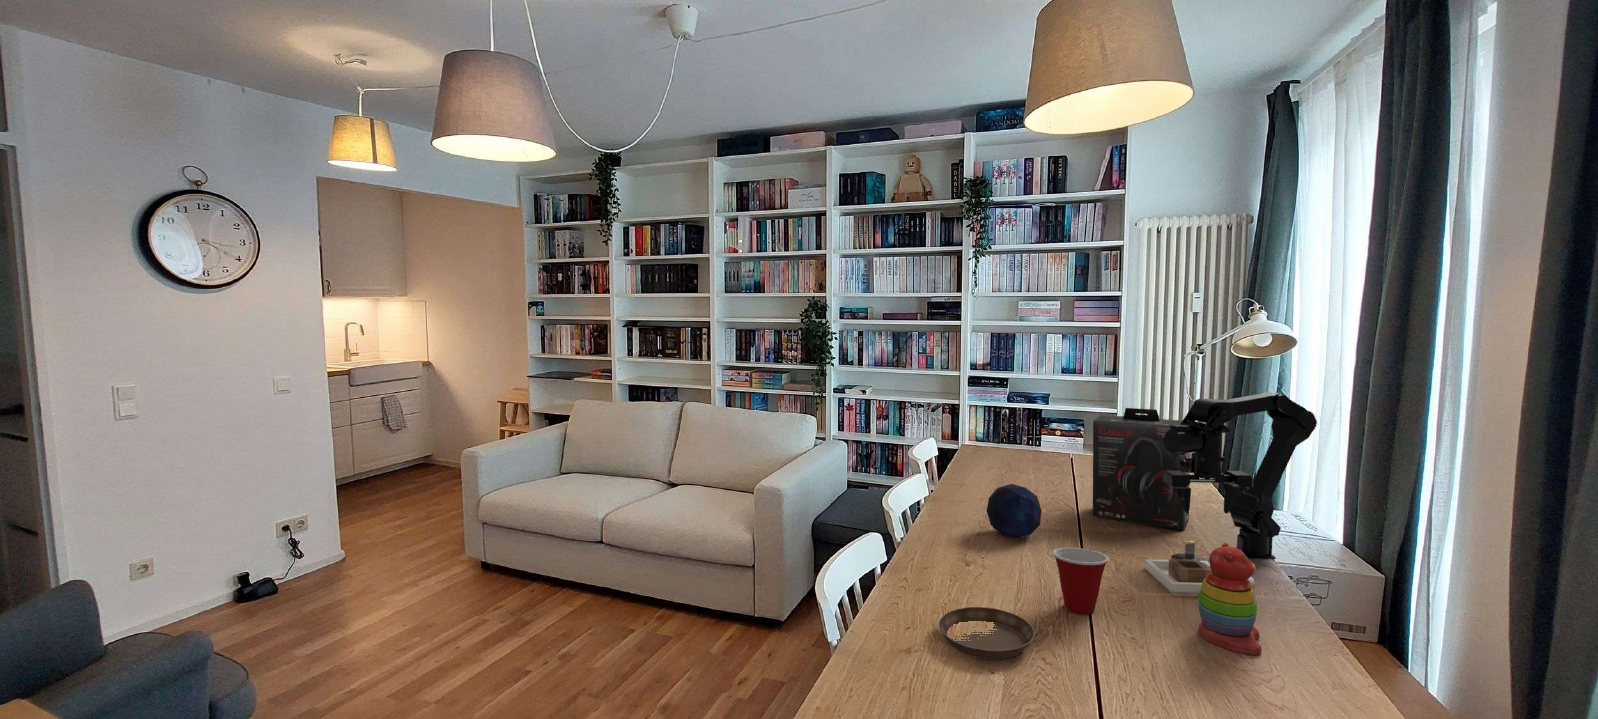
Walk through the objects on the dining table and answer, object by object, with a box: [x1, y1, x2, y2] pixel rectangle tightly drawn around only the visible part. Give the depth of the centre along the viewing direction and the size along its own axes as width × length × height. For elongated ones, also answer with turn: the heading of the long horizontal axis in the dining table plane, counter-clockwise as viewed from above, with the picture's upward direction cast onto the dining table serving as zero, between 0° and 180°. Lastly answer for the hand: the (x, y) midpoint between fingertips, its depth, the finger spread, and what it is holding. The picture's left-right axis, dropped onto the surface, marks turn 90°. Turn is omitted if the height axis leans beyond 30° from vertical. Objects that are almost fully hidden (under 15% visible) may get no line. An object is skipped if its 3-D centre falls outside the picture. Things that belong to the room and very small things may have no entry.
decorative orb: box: [986, 483, 1043, 539], centre depth 183 cm, size 14×15×15 cm
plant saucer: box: [938, 606, 1035, 660], centre depth 127 cm, size 18×18×3 cm
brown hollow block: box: [1168, 558, 1212, 583], centre depth 152 cm, size 8×6×4 cm
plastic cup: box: [1052, 547, 1110, 616], centre depth 139 cm, size 11×11×12 cm
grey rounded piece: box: [1170, 540, 1209, 562], centre depth 163 cm, size 8×8×5 cm
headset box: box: [1092, 407, 1191, 531], centre depth 195 cm, size 25×12×33 cm, turn 54°
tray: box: [1144, 559, 1211, 596], centre depth 151 cm, size 14×14×2 cm
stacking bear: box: [1197, 542, 1262, 656], centre depth 125 cm, size 11×10×18 cm
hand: (1206, 512), depth 163 cm, fingers open, 9 cm apart
